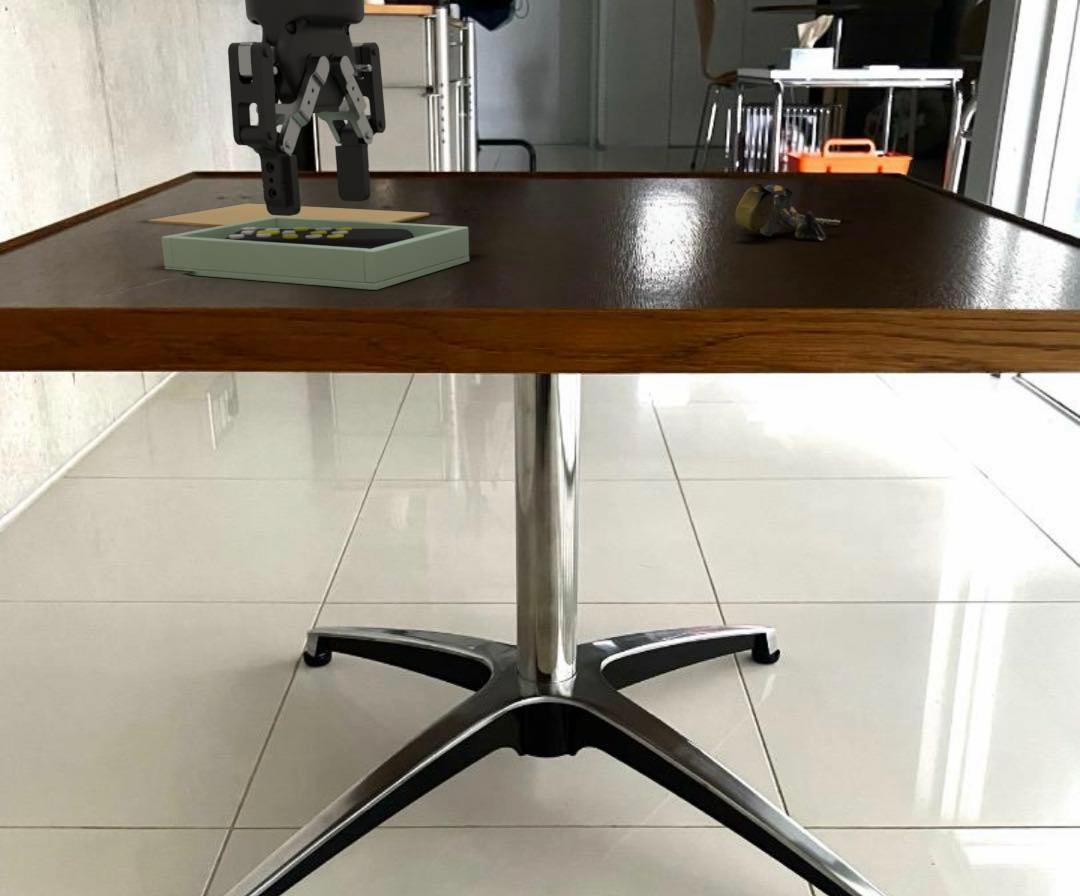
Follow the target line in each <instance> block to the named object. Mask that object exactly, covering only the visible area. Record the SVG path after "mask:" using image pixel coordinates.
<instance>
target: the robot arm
mask: <svg viewBox="0 0 1080 896" xmlns="http://www.w3.org/2000/svg"><path fill="white" fill-rule="evenodd" d="M244 4H245V6H244V7H245V16H246V18H247V20H248V22H250V23H251V24H252V25H255V26H261V29H262V32H261V34H262V36H261V41H242V42H241V41H240V42H231V43H230V44H229V45H228V48H227V55H228V58H227V59H228V72H229V73H228V74H229V89H230V103H231V106H230V107H231V120H232V136H233V140H234V142H235V144H236V145H237V146H247V147H248V148H251V149H252V150H253V152H255V154H258V156H259V161H260V169H261V171H260V172H261V180H262V189H263V190H262V192H263V200H264V204H266V208H267V211H268V212H269V213H270V214H271V215H280V216H291V215H296V214H298V213H299V212H300V209H301V206H302V205H301V194H300V193H301V192H300V184H299V171H298V159H297V158H298V157H297V154H294V155H293V152H294V151H295V148H296V145H297V141H298V138H299V135H300V132H301V129H302V128H303V127H305V126H306V125H307V124H309V122H310V121H311V119H312V118H311V117H312V116H313V114H316V115H317V118H319V120H322V121H323V122H326V124H327V125H328V128H329V130H330V132H331V134H332V136H333V138H334V140H335V142H336V143H337V144H339V145H334V149H335V161H336V162H335V164H336V179H337V189H338V190H337V195H338V197H339V199H340V200H341V201H342V202H343V201H344V202H364V201H367V200H369V199H370V196H371V179H370V161H369V145H371V144H372V142H373V141H374V136H375V135H376V134H383V133H384V132H385V130H386V127H387V126H386V125H387V123H386V112H385V111H386V110H385V99H384V98H385V97H384V88H383V78H382V66H381V65H382V64H381V53H380V47H379V45H378V43H377V42H374V41H373V42H352V39H351V34H350V27H351V25H357V24H360V23H362V22H363V20H364V18H365V15H366V13H365V0H244ZM365 98H367V99H368V104H369V114H366V113H365V110H366V108H367V102H366V100H365ZM279 102H280V103H279ZM252 104H255V105H256V108H255V111H256V114H257V120H258V121H257V123H256V125H255V124H252V123H251V109H250V107H251V105H252ZM345 121H347V123H346V122H345ZM279 126H281V128H280V131H278V128H277V127H279Z"/></svg>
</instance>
